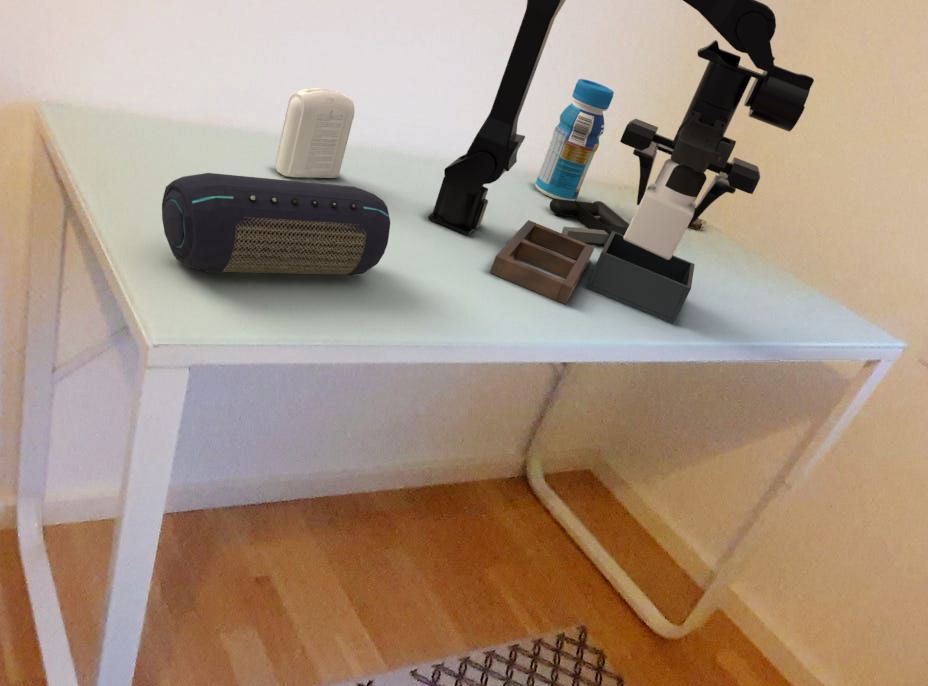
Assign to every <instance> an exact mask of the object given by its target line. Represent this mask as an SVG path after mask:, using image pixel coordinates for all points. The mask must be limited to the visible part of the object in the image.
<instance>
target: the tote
mask: <svg viewBox="0 0 928 686" xmlns="http://www.w3.org/2000/svg"><path fill="white" fill-rule="evenodd" d="M623 237H624V235H622V234H619V233H617V232H614V231H612V232H611V234H610V236H609V238H608V240H607V242H606V244H605V246H603V248H602V250H601V252H600V254H599V256H598V259H597V261H596V264H595V266H594V268H593V271H592V272H591V275H590V277H589V280H588V282H587V284H586V287H585V288H586V289H588V290H591V291H593V292H595V293H597V294H599V295H603V296H605V297H608V298H610V299H612V300H615V301H617V302H620V303H622V304H625V305H627V306H629V307H632V308H634V309H637V310H639V311H641V312H644V313H646V314H649V315H651V316H653V317H656V318H657V319H661V320H663V321H666V322H667V323H670V324H672V325H674V324H675V323H676V320H677V318H678V316H679V314H680V312H681V310H682V308H683V306H684V304H685V302H686V300H687V298H688V296H689V294H690V292H691V290H692V285H693V278H694V271H695V263H693V262H691V261H689V260H685V259H683V258H681V257H678V256H676V255H674V254H673V255H672V257H671V259H670V260H667V259H665V258H662V257H660V256H658V255H656V254H654V253H652V252H649V251H647V250H645V249H643V248H641V247H639V246H636V245H634V244H632V243H630V242H628V241H625V240H624V238H623Z"/></svg>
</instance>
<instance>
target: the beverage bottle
mask: <svg viewBox="0 0 928 686" xmlns="http://www.w3.org/2000/svg"><path fill="white" fill-rule="evenodd" d="M571 95H572V96H571V99H573V100H574V101H572V102H571V103H569V105H567V106H566V107H565V108H564V109H563V110H562V112H561V113H560V115H559V122H558V124H557V125H556V126H555V127H554V129H553V132H552V137H551V140H550V142H549V146H548V148H547V151H546V153H545V157H544V158H543V159H544V160H543V162H542V165H541V168H540V171H539V173H538V176H537V177H536V180H535V184H534V186H535V188H536V189H537V191H539V193H542V194H544V195H545V196H547V197H549V198H552V199H561V200H571V201H577V199H578V196H579V194H580V191H581V188H582V186H583V183H584V180H585V178H586V176H587V173H588V171H589V168H590V166H591V163H592V161H593V159H594V157H595V154H596V152H597V150H598V149H599V147H600V137H601V136H602V135H603V133H604V132H605V117H604V112H606V111H607V110H609V107H610V105H611V103H612V100H613V99H614V91H613V89H611V88H610V87H608V86H606V85H603V84H601V83H598V82H595V81H592V80H589V79H584V78H579V79H578V80H577V81H576V84H575V86H574V89H573V92H572V94H571Z"/></svg>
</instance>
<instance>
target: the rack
mask: <svg viewBox="0 0 928 686" xmlns="http://www.w3.org/2000/svg"><path fill="white" fill-rule="evenodd" d="M561 233H562V232H559V231H556V230H554V229H551V228H549V227H546V226H545V225H542V224H539V223H537V222H534V221H532V220H529V219H527V221H526V222H525V223H524V224H523V225H522V227H520V228H519V230H518V231H517V232H516V233H515V234H514V235H513V236H512V238H511V239H509V241H508V242H507V243H506V244H505V245H504V247H503V248H502V249H500V251H498V253H497V254H496V255H495V256H494V260H493V263H492V266H491V268H490V271H489V273H490V274H492V275H494V276H496V277H499V278H501V279H504V280H506V281H509V282H511V283H513V284H516V285H518V286H520V287H523V288H525V289H528V290H530V291H533V292H535V293H537V294H540V295H542V296H544V297H546V298H549V299H551V300H554V301H557V302H559V303H561V304H564V305H566V304H567V303H568V301H569V299H570V297H571V295H572V294H573V292H574V290H575V288H576V286H577V285H578V283H579V281H580V279H581V277H582V275H583V274H584V272H585V270H586V268H587V266H588V264H589V262H590V260H591V258H592V255H593V253H594V251H595V248H596V247H595V246H594V245H591V244H589V243H587V242H581V241H579V240H576V239H574V238H571V237H569V236H566V235H564V234H561ZM515 258H516V259H519V260H521V261H523V262H525V263H528V264H531V265H533V266H535V267H538V268H540V269H543V270H545V271H547V272H549V273H546V272H544V271H542V270H540V269H537V268H535V267H532V266H529V265H527V264H525V263H522V262H520V261H517V260H516V259H515ZM550 273H552V274H555V275H557V276H559V277H562V278H564V279H565V280H563V279H562V278H559V277H556V276H554V275H551V274H550Z"/></svg>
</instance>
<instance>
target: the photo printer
mask: <svg viewBox="0 0 928 686" xmlns="http://www.w3.org/2000/svg"><path fill="white" fill-rule="evenodd" d="M285 111H286V112H285V115H284V120H283V125H282V130H281V134H280V138H279V144H278V149H277V154H276V157H275V163H274V164H275V165H274V166H275V168H276V171H277V172H278V173H279V174H280V175H282V176H284V177H292V178H316V179H317V178H322V179H323V178H324V179H335V178H338V177H339V175H340V172H341V169H342V165H343V161H344V156H345V153H346V148H347V145H348V141H349V136H350V133H351V130H352V125H353V121H354V117H355V104H354V101H353V100H352V99H351V98H349V96H347V95H345V94H343V93H341V92H339V91H336V90H334V89H330V88H325V87H311V88H306V89H300V90H297V91H295V92H293V93H292V94H291V95H290V97H289V99H288V102H287V107H286V110H285Z"/></svg>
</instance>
